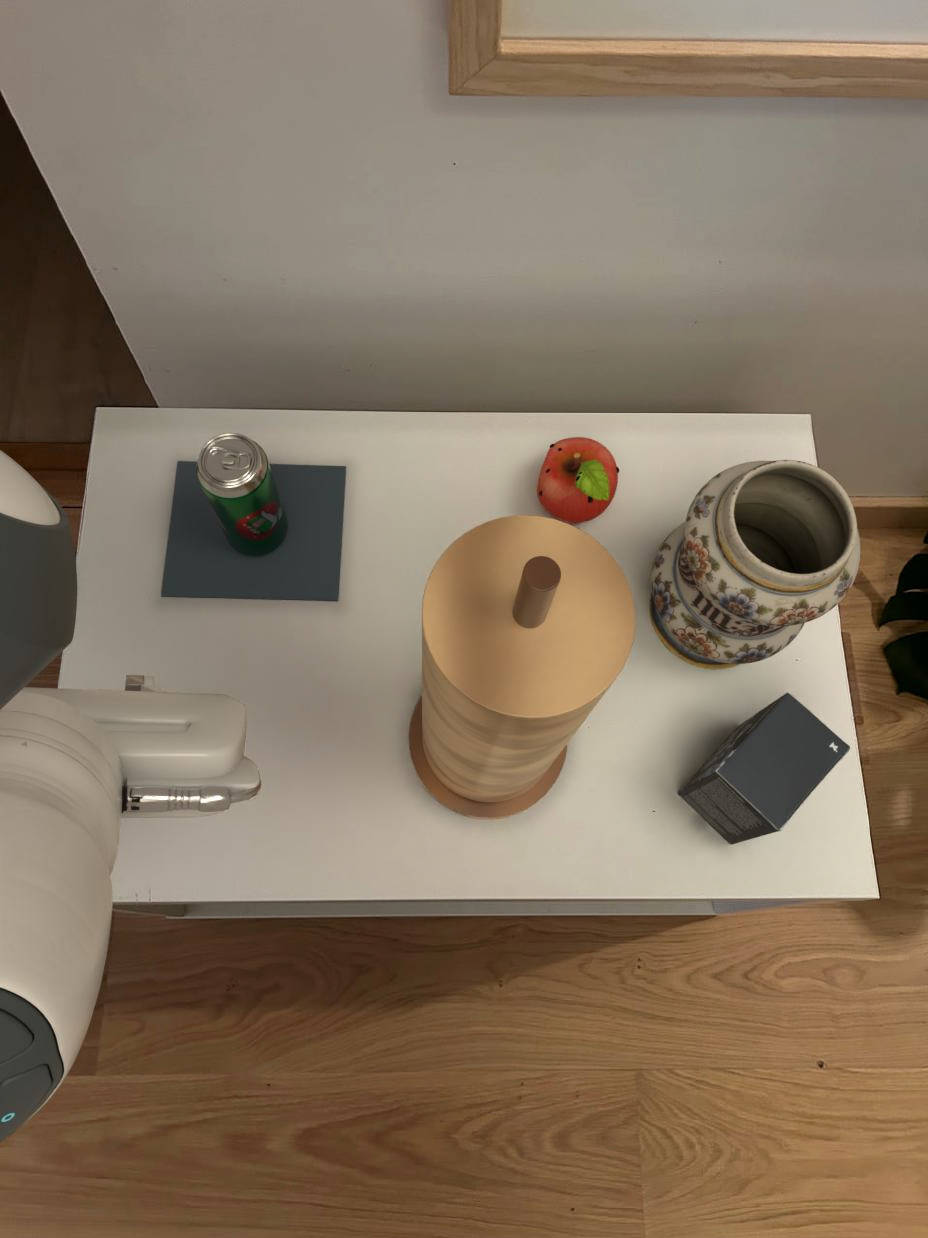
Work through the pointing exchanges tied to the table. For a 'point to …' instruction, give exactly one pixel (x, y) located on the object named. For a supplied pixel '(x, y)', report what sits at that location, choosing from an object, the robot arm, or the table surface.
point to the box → (764, 771)
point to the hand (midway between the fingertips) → (47, 684)
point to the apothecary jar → (753, 563)
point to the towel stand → (514, 660)
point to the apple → (577, 480)
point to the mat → (286, 573)
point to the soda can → (242, 493)
